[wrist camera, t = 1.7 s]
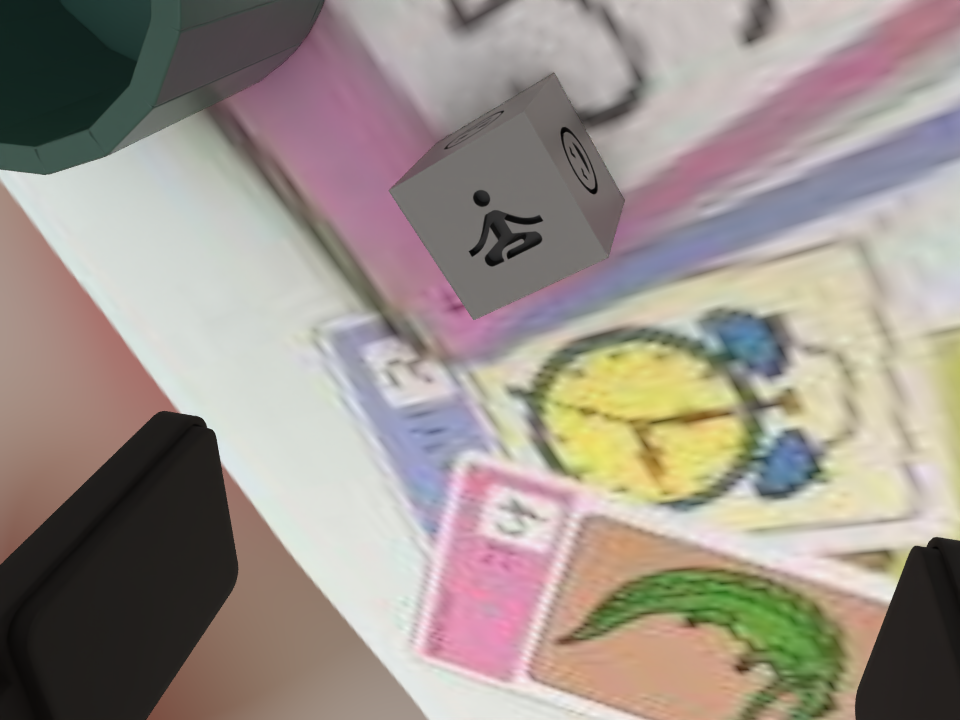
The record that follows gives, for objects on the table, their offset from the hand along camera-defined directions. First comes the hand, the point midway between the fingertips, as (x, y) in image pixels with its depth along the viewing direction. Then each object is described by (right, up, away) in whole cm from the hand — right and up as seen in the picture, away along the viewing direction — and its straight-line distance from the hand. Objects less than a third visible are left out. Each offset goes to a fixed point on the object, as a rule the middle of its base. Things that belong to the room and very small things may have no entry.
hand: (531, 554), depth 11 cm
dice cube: (+1, +9, +18) cm, 21 cm away
